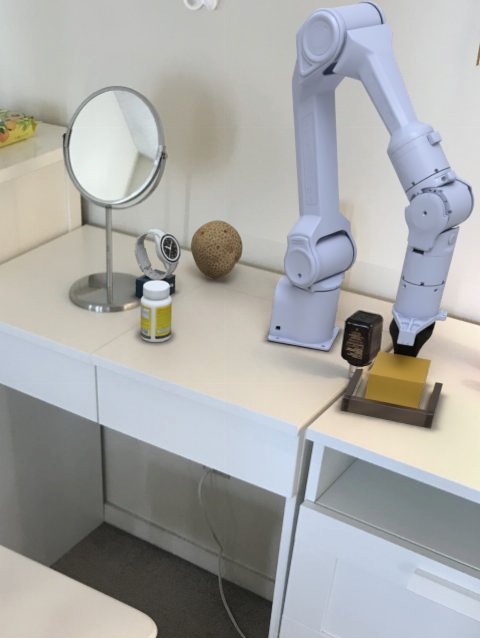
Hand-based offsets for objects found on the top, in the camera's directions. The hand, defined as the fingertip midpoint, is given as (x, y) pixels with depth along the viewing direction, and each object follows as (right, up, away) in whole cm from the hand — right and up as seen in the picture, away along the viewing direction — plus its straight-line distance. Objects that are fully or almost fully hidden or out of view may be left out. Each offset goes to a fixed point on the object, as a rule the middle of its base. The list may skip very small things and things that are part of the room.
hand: (401, 369), depth 116 cm
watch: (-33, +17, +25) cm, 45 cm away
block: (-2, -4, -3) cm, 5 cm away
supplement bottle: (-34, +7, +13) cm, 37 cm away
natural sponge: (-22, +22, +31) cm, 44 cm away
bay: (-3, -5, -5) cm, 8 cm away
